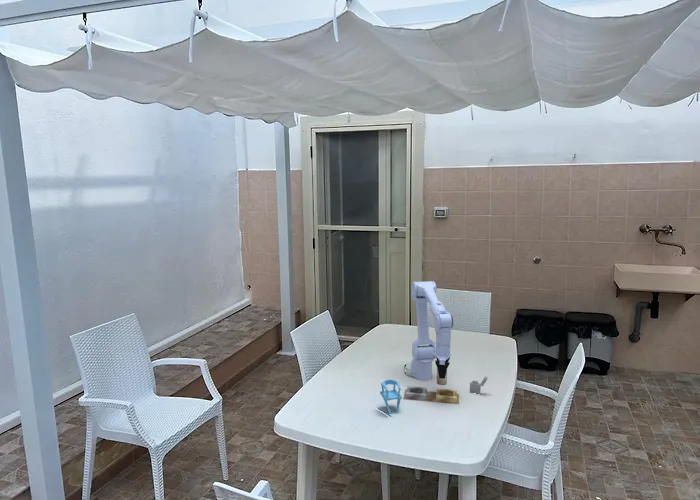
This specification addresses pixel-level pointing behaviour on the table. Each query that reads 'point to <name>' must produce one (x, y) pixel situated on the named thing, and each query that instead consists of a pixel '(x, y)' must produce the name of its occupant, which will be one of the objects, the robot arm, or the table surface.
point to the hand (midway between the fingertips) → (442, 376)
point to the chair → (390, 394)
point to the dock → (431, 395)
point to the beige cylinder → (440, 380)
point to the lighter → (477, 385)
